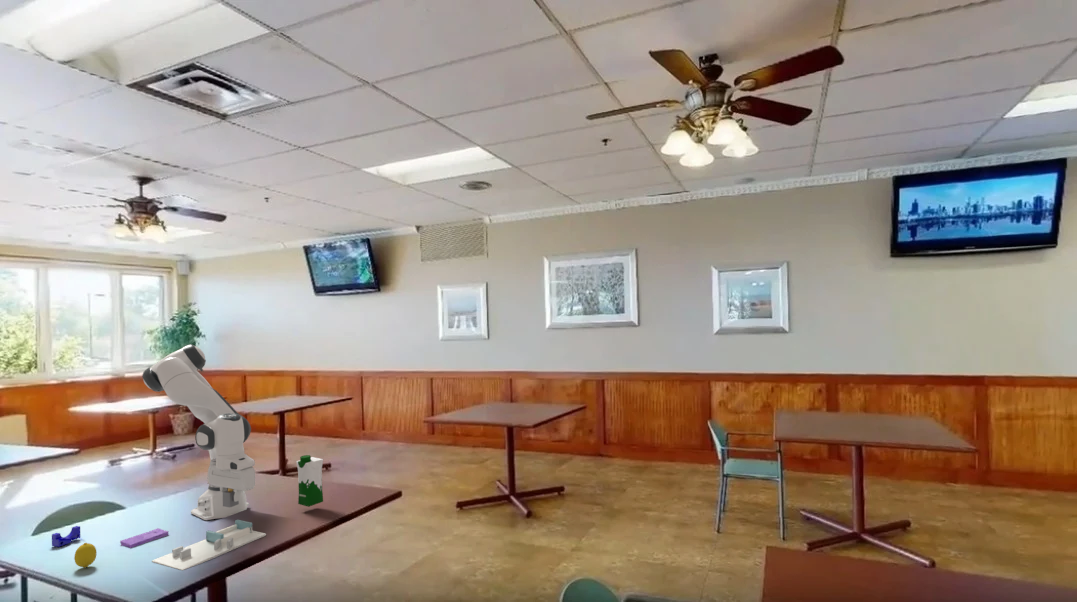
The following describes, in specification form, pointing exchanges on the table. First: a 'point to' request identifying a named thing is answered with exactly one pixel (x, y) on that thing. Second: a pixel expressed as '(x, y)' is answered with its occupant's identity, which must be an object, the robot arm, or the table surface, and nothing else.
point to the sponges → (144, 538)
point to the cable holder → (61, 541)
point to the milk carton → (310, 480)
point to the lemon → (85, 555)
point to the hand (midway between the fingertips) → (230, 499)
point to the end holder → (230, 532)
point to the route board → (203, 551)
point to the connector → (229, 498)
